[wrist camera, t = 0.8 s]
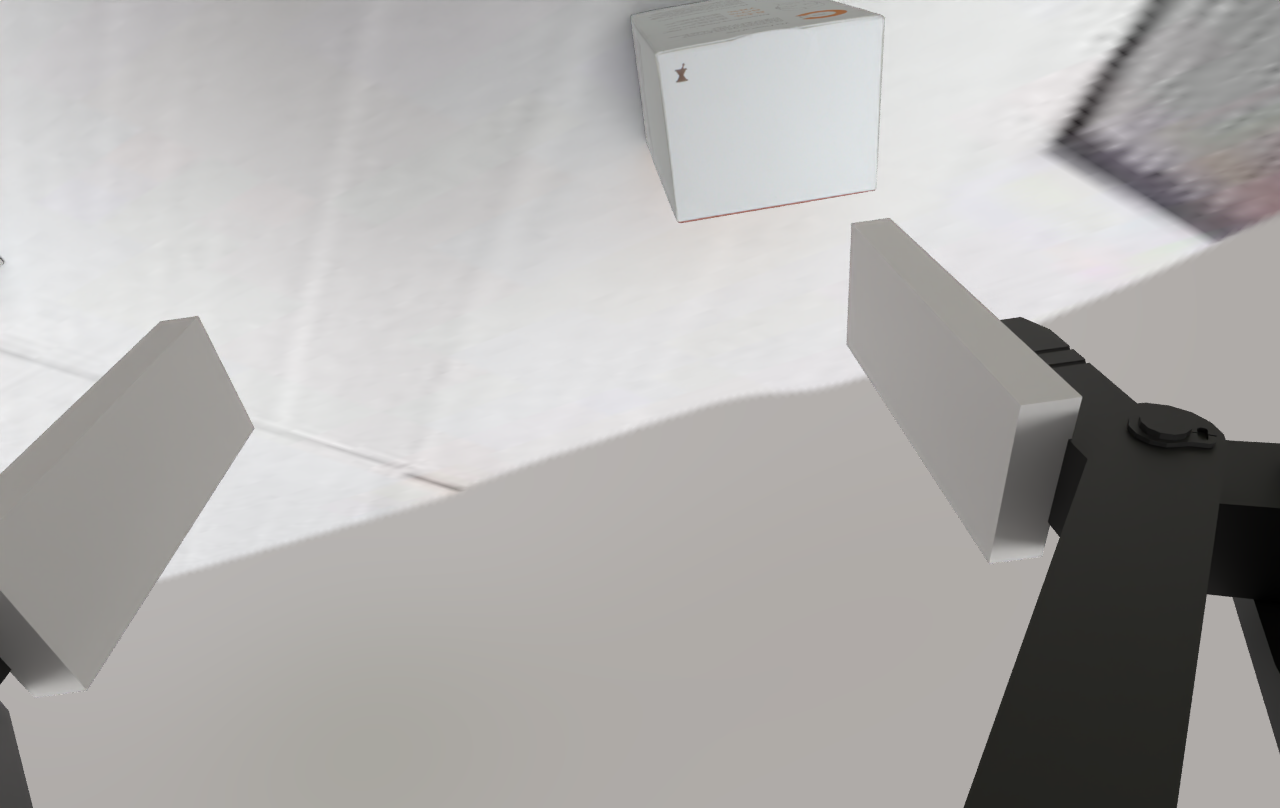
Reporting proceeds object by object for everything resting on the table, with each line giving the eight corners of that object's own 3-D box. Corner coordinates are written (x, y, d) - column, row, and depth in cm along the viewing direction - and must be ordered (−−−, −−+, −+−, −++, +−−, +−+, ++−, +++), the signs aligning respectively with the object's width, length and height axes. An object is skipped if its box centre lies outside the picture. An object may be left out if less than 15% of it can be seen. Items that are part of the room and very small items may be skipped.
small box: (645, 145, 39) (672, 227, 28) (628, 13, 36) (650, 48, 25) (795, 120, 39) (881, 193, 28) (792, -15, 36) (887, 8, 25)
